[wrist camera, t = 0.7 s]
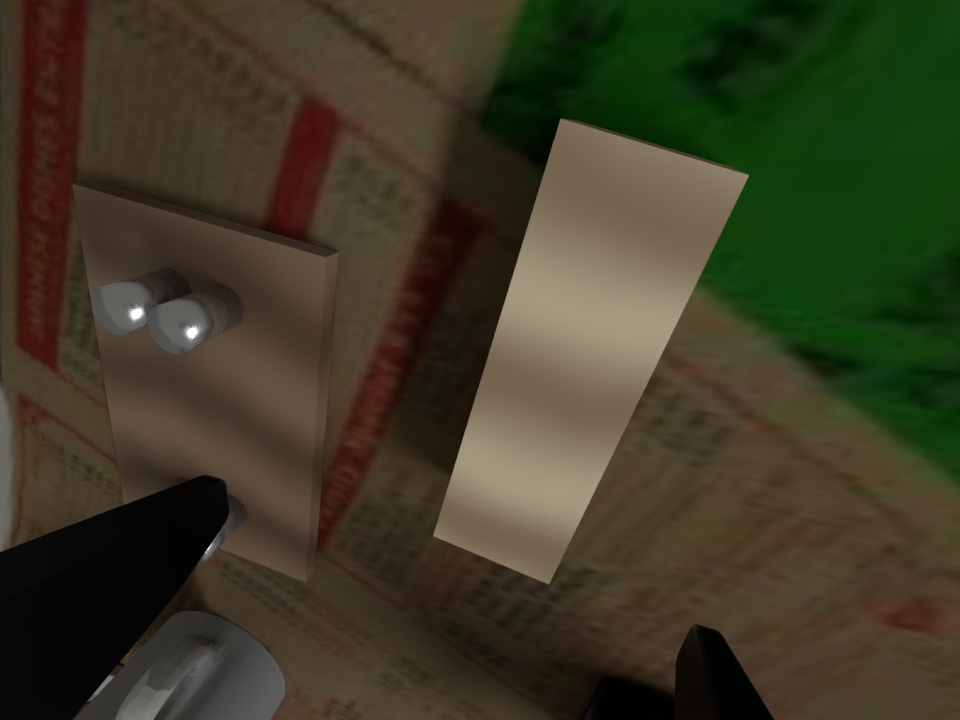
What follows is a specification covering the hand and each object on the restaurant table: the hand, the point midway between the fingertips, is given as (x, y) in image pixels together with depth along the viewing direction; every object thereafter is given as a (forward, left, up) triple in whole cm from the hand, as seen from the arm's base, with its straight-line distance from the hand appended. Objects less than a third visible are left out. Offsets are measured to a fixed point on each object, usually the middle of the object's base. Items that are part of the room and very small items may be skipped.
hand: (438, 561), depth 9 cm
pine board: (-1, -1, -12) cm, 12 cm away
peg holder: (-9, +15, -12) cm, 21 cm away
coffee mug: (-30, +15, -12) cm, 35 cm away
